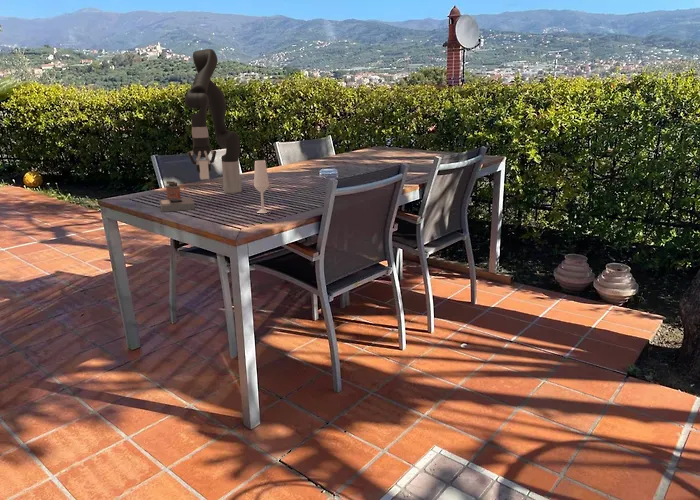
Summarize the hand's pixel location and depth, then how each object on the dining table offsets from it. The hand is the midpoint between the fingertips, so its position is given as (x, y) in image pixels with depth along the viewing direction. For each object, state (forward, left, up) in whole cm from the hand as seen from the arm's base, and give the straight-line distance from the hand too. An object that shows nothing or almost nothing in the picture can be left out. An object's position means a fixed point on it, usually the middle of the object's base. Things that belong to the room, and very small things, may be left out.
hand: (203, 171), depth 249 cm
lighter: (+14, -17, -17) cm, 28 cm away
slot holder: (+14, +1, -16) cm, 22 cm away
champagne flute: (-22, +29, -17) cm, 40 cm away
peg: (0, 0, -3) cm, 3 cm away
